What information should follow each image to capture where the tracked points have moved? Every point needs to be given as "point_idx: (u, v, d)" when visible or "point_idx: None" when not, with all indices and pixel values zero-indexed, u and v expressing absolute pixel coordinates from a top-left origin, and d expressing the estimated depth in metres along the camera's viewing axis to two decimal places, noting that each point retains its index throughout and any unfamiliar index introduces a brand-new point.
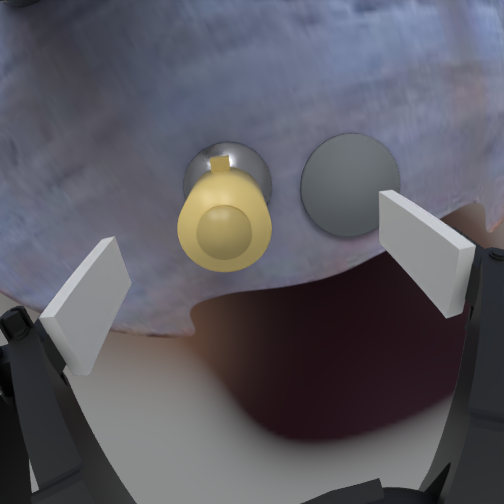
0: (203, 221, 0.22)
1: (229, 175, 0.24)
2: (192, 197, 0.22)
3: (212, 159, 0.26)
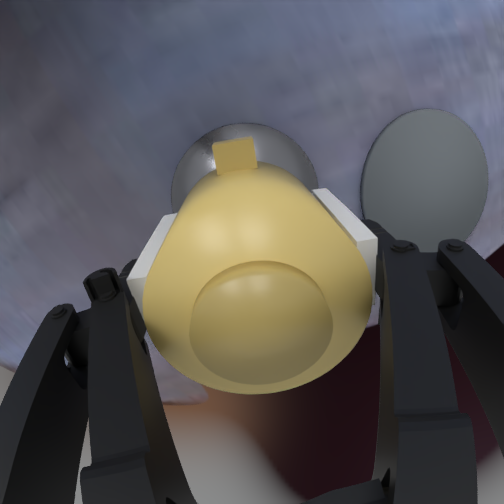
0: (204, 311, 0.08)
1: (260, 178, 0.10)
2: (170, 245, 0.08)
3: (217, 145, 0.12)
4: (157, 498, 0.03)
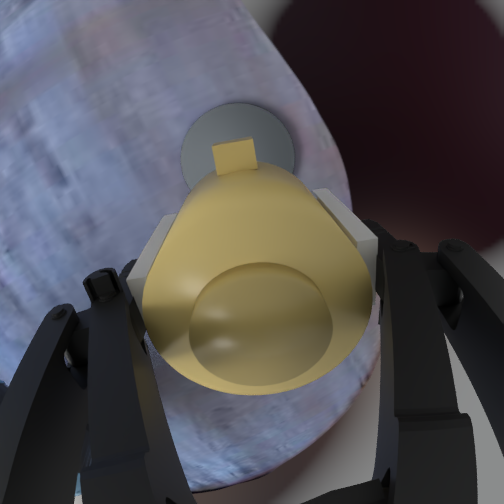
0: (204, 313, 0.08)
1: (260, 179, 0.10)
2: (169, 247, 0.08)
3: (217, 146, 0.12)
4: (157, 498, 0.03)
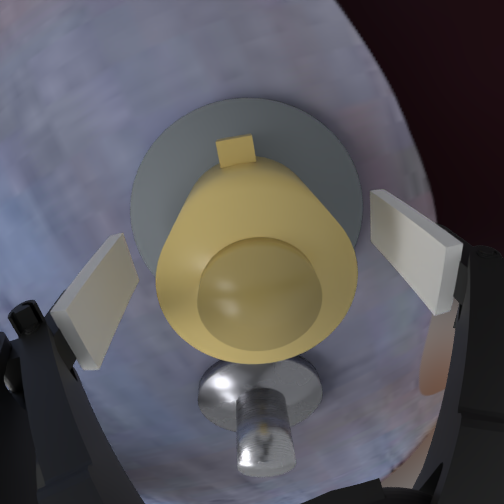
0: (210, 280, 0.09)
1: (258, 170, 0.12)
2: (181, 224, 0.09)
3: (220, 142, 0.13)
4: None
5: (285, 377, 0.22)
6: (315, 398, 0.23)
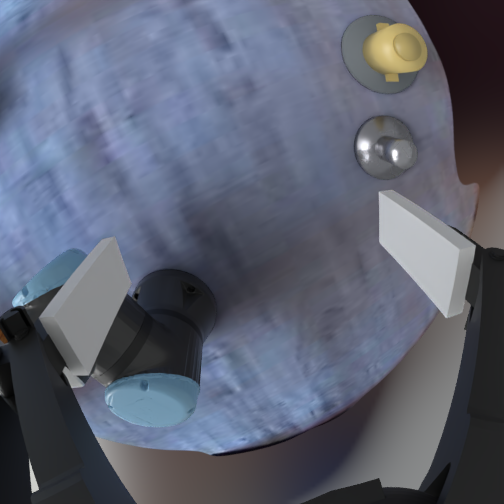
0: (398, 37, 0.29)
1: None
2: (389, 26, 0.29)
3: (380, 23, 0.33)
4: None
5: (397, 129, 0.41)
6: None
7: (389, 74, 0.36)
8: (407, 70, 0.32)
